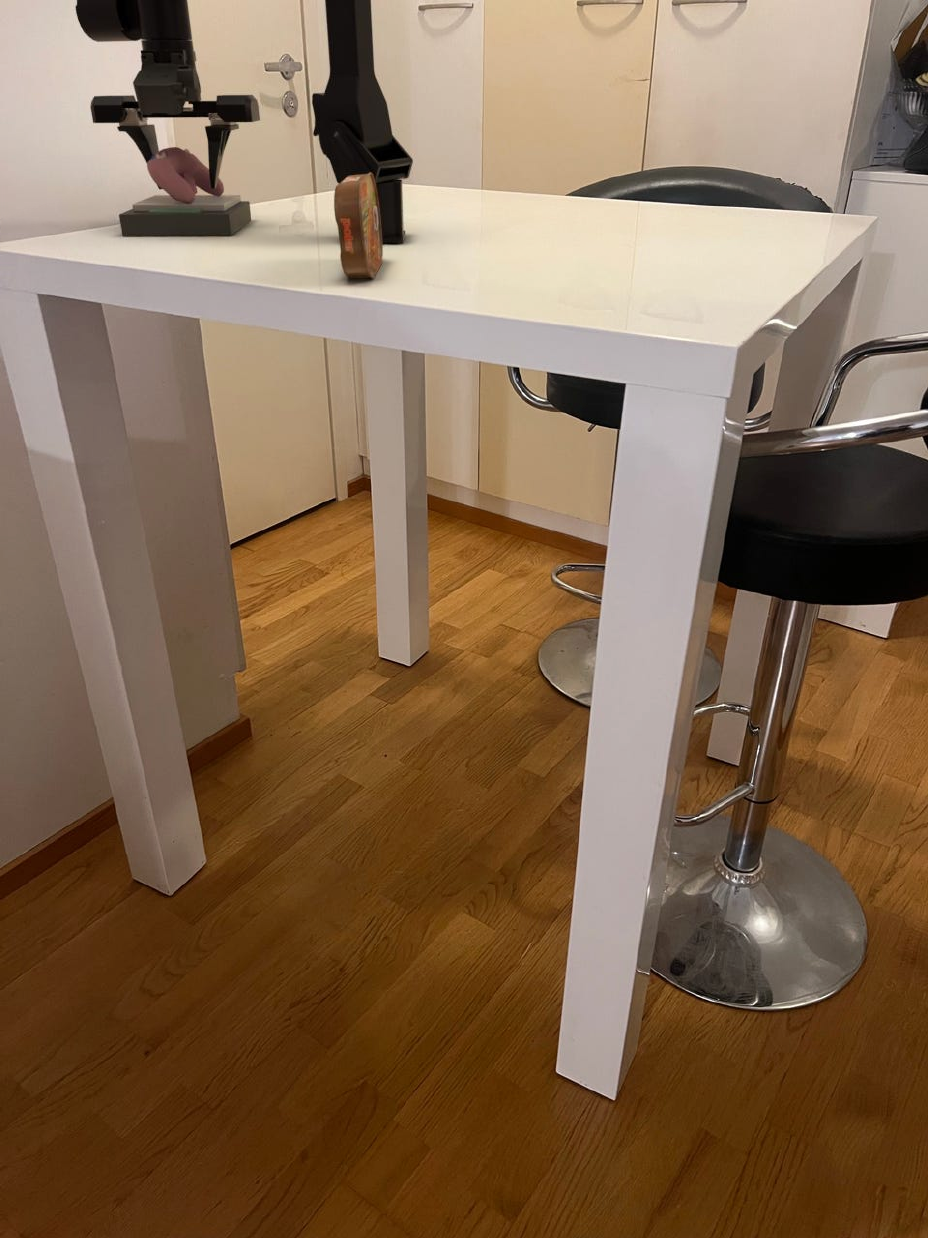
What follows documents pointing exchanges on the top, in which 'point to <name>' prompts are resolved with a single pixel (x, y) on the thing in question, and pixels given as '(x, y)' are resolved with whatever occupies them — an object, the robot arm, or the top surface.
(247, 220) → the scale
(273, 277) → the top surface
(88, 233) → the top surface
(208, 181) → the video game controller
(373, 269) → the tin
